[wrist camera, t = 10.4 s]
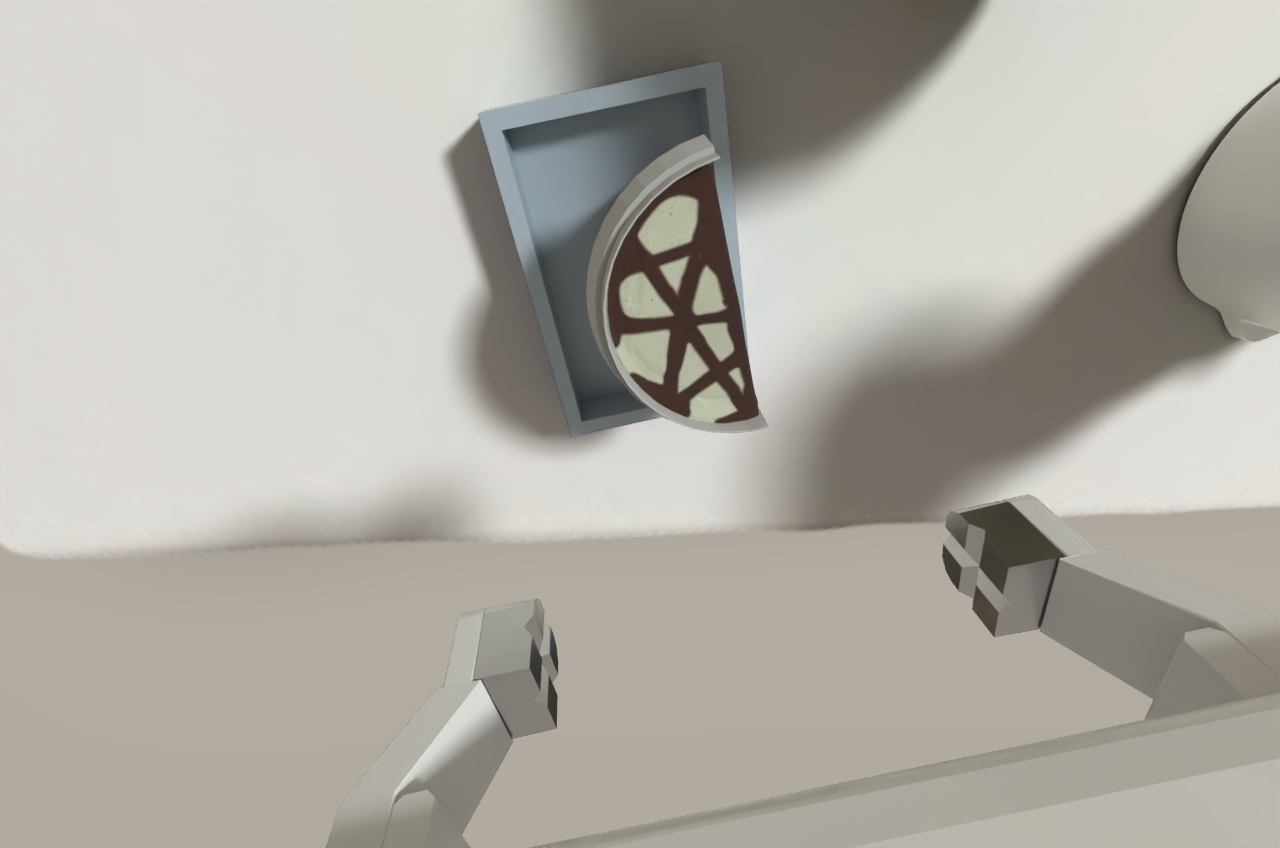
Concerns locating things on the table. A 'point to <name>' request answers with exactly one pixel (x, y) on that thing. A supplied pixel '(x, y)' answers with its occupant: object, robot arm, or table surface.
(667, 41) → the table surface
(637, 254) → the food container
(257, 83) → the table surface
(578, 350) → the holder tray
